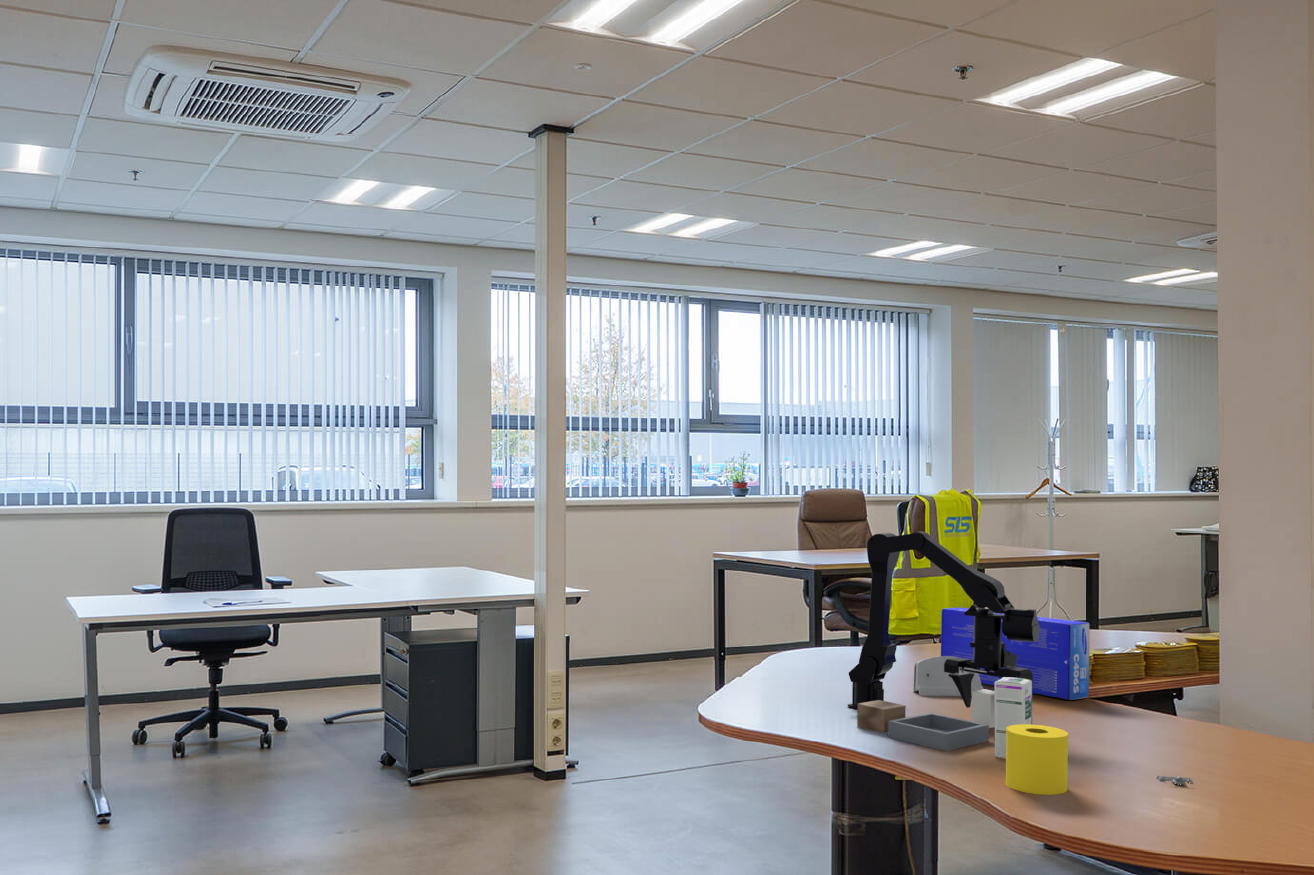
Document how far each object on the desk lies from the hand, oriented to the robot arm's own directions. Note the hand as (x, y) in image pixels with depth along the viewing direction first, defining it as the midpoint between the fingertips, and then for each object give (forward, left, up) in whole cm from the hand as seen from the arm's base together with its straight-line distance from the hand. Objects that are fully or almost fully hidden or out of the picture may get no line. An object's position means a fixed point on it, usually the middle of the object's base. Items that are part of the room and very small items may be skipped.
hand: (986, 711), depth 240 cm
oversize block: (-11, -21, -3) cm, 24 cm away
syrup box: (+19, -20, -3) cm, 28 cm away
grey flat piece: (+43, -12, -4) cm, 45 cm away
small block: (0, 0, -3) cm, 3 cm away
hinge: (-27, +23, -3) cm, 36 cm away
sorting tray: (+2, -20, -3) cm, 20 cm away
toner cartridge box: (-22, +44, -3) cm, 49 cm away
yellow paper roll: (+33, -35, -3) cm, 48 cm away
